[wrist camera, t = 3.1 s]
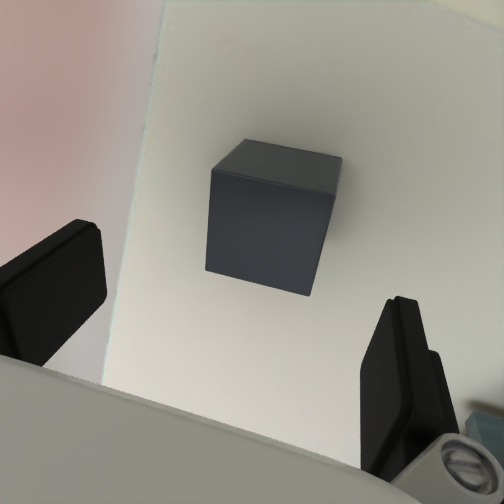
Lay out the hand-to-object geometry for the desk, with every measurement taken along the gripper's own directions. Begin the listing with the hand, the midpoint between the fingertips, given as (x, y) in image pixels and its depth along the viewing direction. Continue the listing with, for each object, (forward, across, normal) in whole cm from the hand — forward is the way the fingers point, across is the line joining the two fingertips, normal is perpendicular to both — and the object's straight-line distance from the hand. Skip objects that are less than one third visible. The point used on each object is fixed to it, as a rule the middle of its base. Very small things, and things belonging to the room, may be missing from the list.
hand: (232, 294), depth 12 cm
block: (+8, 0, 0) cm, 8 cm away
